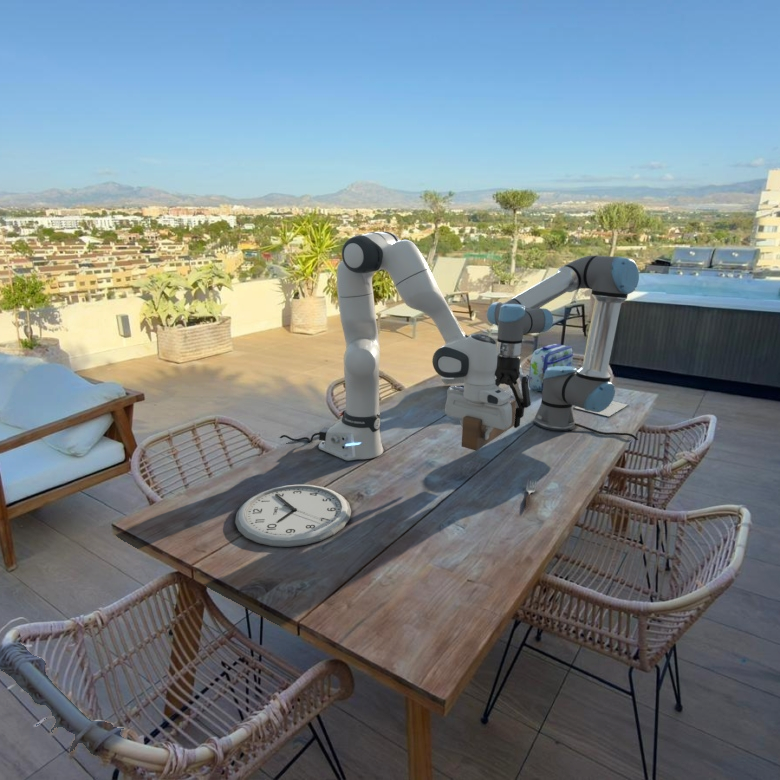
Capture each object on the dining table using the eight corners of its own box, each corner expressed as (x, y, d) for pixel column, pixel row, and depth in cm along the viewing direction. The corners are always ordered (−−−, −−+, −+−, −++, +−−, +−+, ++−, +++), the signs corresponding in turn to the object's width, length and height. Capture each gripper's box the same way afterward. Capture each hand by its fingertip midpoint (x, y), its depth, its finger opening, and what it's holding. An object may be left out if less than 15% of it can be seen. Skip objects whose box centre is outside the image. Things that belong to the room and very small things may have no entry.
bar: (500, 422, 173) (502, 395, 170) (514, 425, 170) (516, 399, 167) (461, 446, 153) (463, 417, 150) (476, 450, 150) (478, 421, 148)
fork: (520, 510, 142) (521, 503, 141) (526, 484, 156) (527, 478, 155) (530, 512, 141) (531, 505, 140) (535, 486, 155) (536, 480, 154)
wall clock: (351, 538, 125) (223, 542, 122) (351, 544, 125) (223, 548, 123) (350, 480, 153) (246, 482, 151) (350, 485, 154) (246, 487, 151)
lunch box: (545, 396, 239) (550, 351, 232) (524, 391, 246) (528, 347, 240) (572, 385, 256) (577, 343, 250) (552, 380, 263) (557, 339, 257)
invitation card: (608, 416, 214) (573, 407, 224) (608, 416, 214) (573, 408, 224) (628, 404, 229) (594, 396, 238) (628, 405, 229) (594, 397, 238)
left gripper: (442, 386, 153) (440, 430, 157) (506, 401, 142) (502, 448, 146) (453, 382, 158) (450, 424, 162) (516, 395, 146) (512, 441, 151)
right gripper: (471, 351, 165) (466, 418, 171) (537, 363, 152) (530, 434, 159) (482, 347, 170) (477, 412, 177) (547, 358, 158) (539, 427, 165)
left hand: (475, 436), depth 154 cm, fingers closed on bar, 5 cm apart
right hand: (502, 423), depth 168 cm, fingers open, 9 cm apart
